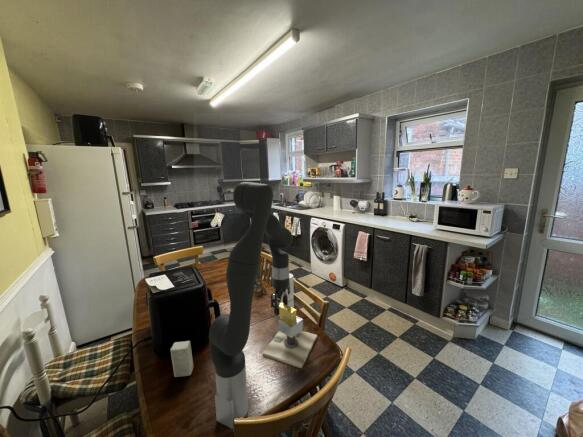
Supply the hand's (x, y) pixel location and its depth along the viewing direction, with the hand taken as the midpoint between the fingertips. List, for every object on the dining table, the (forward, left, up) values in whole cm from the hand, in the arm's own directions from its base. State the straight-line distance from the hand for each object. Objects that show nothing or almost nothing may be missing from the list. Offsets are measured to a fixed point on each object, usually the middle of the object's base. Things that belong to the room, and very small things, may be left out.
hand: (281, 309), depth 105 cm
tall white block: (+17, +5, -17) cm, 25 cm away
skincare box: (-30, +28, -17) cm, 45 cm away
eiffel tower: (+37, +35, -17) cm, 54 cm away
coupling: (+1, -3, -9) cm, 9 cm away
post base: (0, -5, -17) cm, 17 cm away
